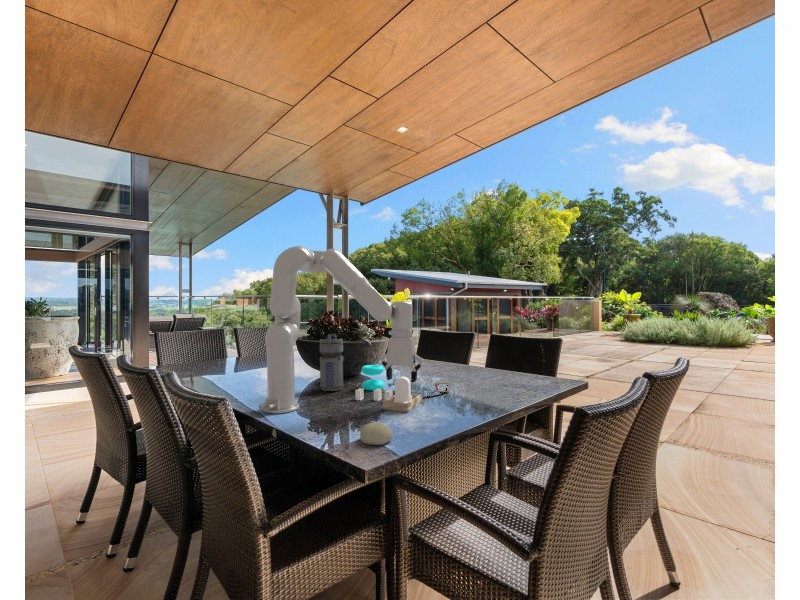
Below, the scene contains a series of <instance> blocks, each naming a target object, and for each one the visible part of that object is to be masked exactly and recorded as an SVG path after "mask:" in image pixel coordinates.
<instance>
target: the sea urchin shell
mask: <svg viewBox="0 0 800 600" xmlns="http://www.w3.org/2000/svg"><path fill="white" fill-rule="evenodd" d="M393 435H394V433H393V430H392V428H391V427H390V426H388V425H387V424H384V423H381V422H375V421H374V422H369V423H367V424H365V425H364V426H362V428H361V429H360V432H359V438H360V441H361V442H362V443H364V444H365V445H370V446H371V445H372V446H373V445H374V446H381V445H384V444H387V443H388V442H390V441H391V440H392V439H393Z"/></svg>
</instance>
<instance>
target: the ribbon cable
mask: <svg viewBox="0 0 800 600" xmlns="http://www.w3.org/2000/svg"><path fill="white" fill-rule="evenodd" d="M434 384H436V385H435V386H436V390H433V391H432V393H433V392H441V393H444V392H447V393H449V392H450V393H451V391H450V390H448V391H437V388H438V387H437V386H438V385H439V384H449V385H450V383H449V382H434V383H433V385H434ZM386 385H387V386H388V388H391V387H392V386H393V385H394V386H395V382H393V383H387V384H386ZM387 390H388V389H387ZM387 390H382V392H383V393H385V391H387ZM392 390H393V392H395V389H392ZM441 393H439V394H437V395H436V394H433V396H432V395H431V396H430V397H429V396H428V397H427V396H426V395H425V396H426V397H422V399H425V398H431V397H436V396H437V397H438V395H439V396H441ZM447 393H446V394H447ZM450 393H449V394H450ZM394 395H395V394H394V393H393V396H394Z"/></svg>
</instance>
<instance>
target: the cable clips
mask: <svg viewBox="0 0 800 600" xmlns="http://www.w3.org/2000/svg"><path fill="white" fill-rule="evenodd" d="M382 389H383V388H382ZM382 389H376V390H373V401H374V402H375V401H376V402H379V401H381V400H382V399H383V398H382V391H383V390H382ZM393 390H394V389H387V391H385V392H384V401H385V400H387V399H388V398H390V397H392V396H394V393H393ZM354 391H355V393H354V394H355V401H359V400H360V401H362V400H364V391H365V389H363V388H358V389H355V390H354Z"/></svg>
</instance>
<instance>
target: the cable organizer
mask: <svg viewBox="0 0 800 600" xmlns="http://www.w3.org/2000/svg"><path fill="white" fill-rule="evenodd" d="M394 383H395V385H394V390H395V400H394V401H393V402H400V403H408V402H409V401H411V400H412V396H411V394H412V392H411V389H412V388H411V384H412V382H411V379H410V378H408V377H407V376H400V377H398V378H397V379H396V381H395V382H394Z"/></svg>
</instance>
